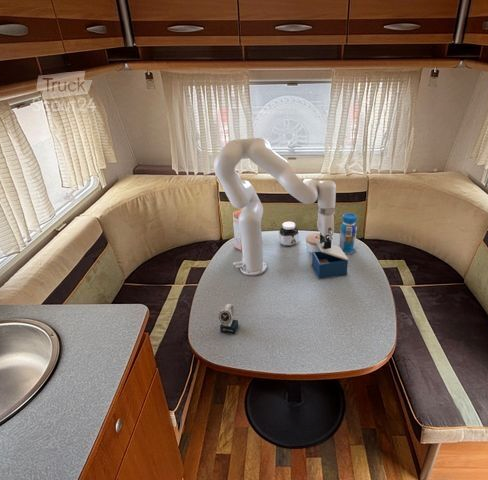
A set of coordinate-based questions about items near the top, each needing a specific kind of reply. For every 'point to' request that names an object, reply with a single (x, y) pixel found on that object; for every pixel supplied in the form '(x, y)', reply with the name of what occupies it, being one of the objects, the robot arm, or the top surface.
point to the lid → (331, 249)
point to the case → (328, 265)
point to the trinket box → (312, 242)
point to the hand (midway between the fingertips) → (325, 244)
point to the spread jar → (288, 234)
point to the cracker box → (237, 229)
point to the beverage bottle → (348, 233)
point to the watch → (228, 320)
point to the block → (323, 261)
